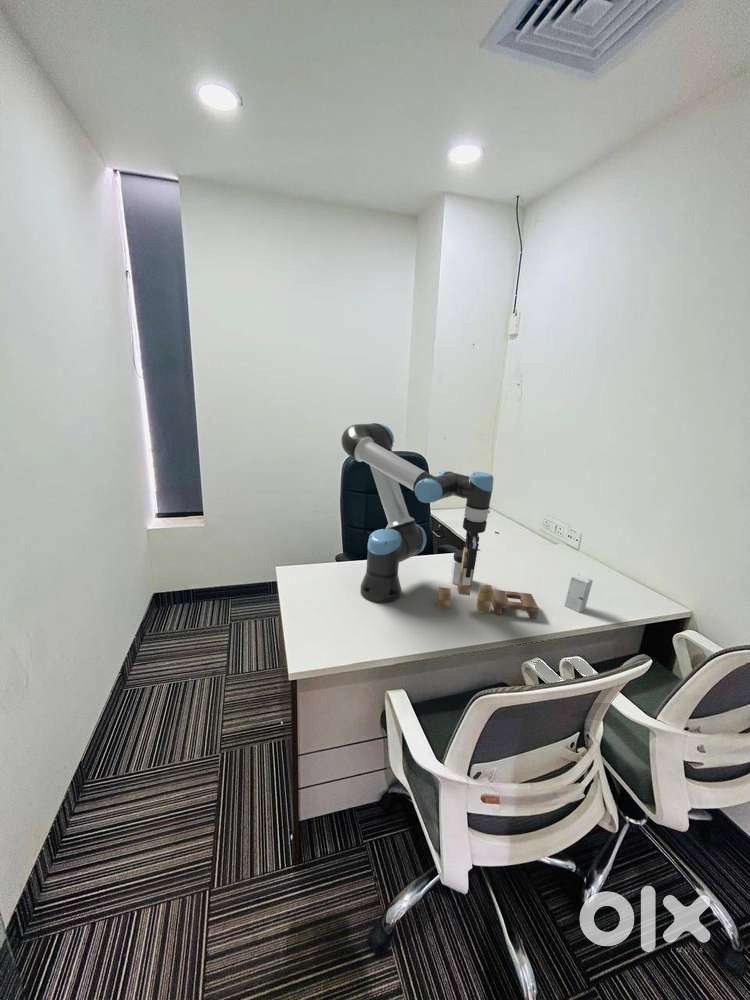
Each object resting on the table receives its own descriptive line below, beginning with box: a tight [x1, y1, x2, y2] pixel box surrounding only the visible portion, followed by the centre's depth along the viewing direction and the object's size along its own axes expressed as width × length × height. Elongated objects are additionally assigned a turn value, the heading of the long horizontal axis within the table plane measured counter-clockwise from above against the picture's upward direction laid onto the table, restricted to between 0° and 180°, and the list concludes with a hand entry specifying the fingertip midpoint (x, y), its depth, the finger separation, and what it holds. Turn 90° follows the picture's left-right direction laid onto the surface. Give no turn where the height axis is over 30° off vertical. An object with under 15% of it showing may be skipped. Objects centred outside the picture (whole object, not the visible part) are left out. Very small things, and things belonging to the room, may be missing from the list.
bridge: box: [491, 589, 539, 620], centre depth 148 cm, size 14×10×4 cm
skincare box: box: [564, 573, 593, 613], centre depth 151 cm, size 6×4×12 cm
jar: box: [449, 549, 464, 586], centre depth 166 cm, size 9×8×12 cm
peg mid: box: [475, 583, 494, 615], centre depth 145 cm, size 4×4×9 cm
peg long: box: [457, 546, 478, 597], centre depth 144 cm, size 4×4×16 cm
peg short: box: [436, 587, 452, 610], centre depth 147 cm, size 4×4×6 cm
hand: (465, 581), depth 145 cm, fingers closed on peg long, 4 cm apart
